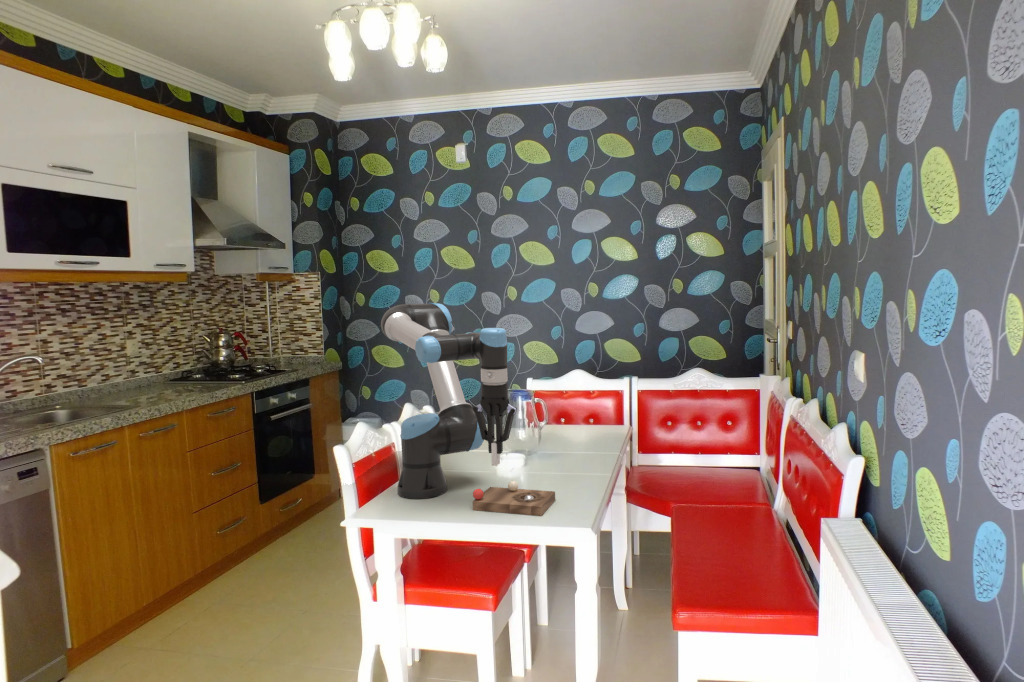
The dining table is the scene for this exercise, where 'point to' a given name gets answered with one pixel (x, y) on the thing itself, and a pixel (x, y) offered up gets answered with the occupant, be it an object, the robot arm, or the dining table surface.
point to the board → (514, 501)
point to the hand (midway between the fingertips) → (495, 464)
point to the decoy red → (478, 494)
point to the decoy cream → (513, 485)
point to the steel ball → (528, 497)
